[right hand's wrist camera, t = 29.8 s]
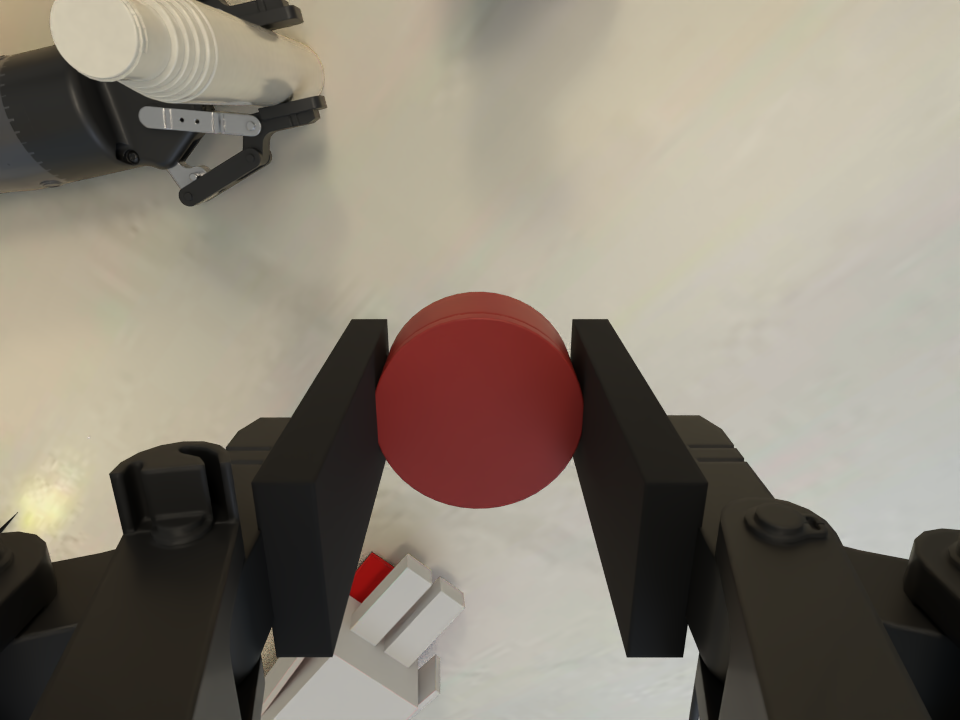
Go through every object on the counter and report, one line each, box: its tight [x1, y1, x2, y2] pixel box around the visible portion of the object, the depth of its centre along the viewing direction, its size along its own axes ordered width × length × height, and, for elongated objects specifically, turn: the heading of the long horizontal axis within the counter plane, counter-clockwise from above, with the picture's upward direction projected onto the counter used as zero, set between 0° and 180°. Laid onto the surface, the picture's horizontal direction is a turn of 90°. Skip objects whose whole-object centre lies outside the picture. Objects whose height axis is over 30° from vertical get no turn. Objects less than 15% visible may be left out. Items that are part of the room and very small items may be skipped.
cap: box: [375, 292, 583, 509], centre depth 13 cm, size 4×4×2 cm
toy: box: [261, 553, 465, 720], centre depth 58 cm, size 12×13×30 cm
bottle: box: [50, 0, 324, 107], centre depth 33 cm, size 4×4×25 cm
